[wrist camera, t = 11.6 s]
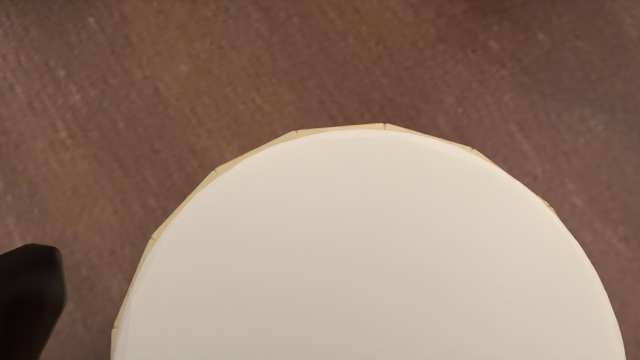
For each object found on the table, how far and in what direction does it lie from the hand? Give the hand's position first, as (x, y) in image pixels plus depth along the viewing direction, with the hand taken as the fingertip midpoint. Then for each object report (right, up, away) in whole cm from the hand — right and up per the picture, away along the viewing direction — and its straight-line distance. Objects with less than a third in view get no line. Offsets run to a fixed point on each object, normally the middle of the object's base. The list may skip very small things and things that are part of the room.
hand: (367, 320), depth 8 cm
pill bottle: (0, -3, +8) cm, 8 cm away
